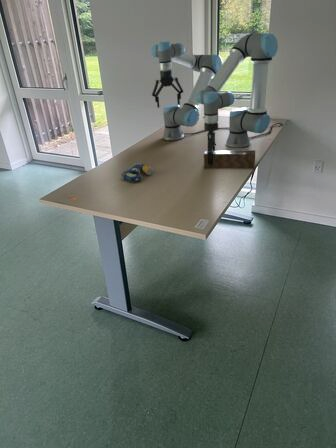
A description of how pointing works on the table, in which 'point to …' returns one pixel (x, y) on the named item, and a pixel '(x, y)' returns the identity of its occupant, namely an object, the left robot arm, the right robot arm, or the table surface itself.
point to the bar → (231, 159)
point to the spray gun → (136, 172)
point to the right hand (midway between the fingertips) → (211, 160)
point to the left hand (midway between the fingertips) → (168, 105)
